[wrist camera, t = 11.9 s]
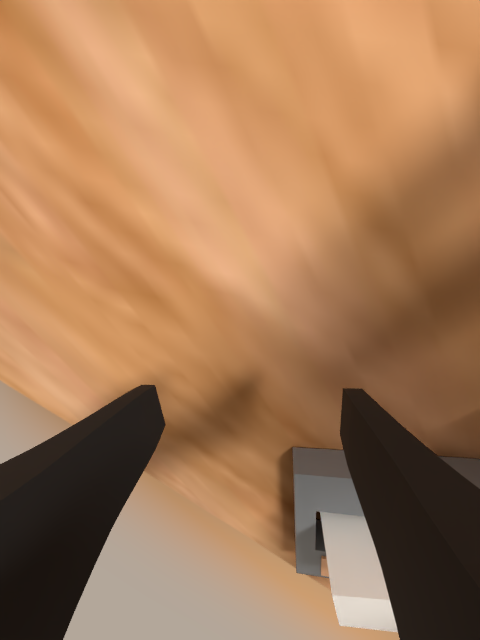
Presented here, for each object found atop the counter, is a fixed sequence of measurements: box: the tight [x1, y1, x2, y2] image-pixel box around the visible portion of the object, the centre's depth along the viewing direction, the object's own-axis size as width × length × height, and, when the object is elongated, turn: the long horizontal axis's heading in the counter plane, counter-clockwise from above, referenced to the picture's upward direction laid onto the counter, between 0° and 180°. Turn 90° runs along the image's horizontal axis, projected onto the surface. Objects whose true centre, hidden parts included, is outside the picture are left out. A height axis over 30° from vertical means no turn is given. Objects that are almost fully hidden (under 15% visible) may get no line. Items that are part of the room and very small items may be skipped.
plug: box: [320, 512, 398, 632], centre depth 19 cm, size 4×4×7 cm
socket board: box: [293, 447, 480, 578], centre depth 20 cm, size 18×14×3 cm
